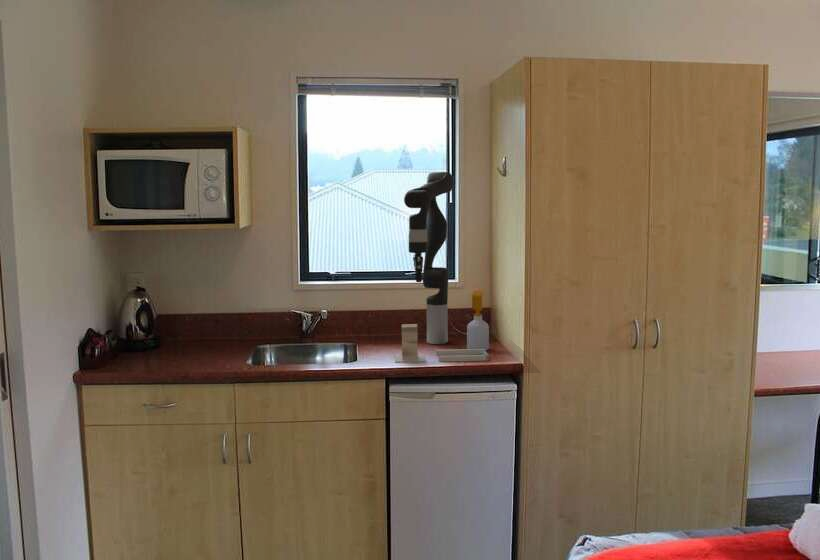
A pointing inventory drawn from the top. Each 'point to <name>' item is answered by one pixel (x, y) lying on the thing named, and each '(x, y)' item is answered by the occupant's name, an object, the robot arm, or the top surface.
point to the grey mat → (420, 359)
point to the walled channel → (463, 355)
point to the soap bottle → (477, 326)
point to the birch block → (409, 341)
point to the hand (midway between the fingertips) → (418, 280)
